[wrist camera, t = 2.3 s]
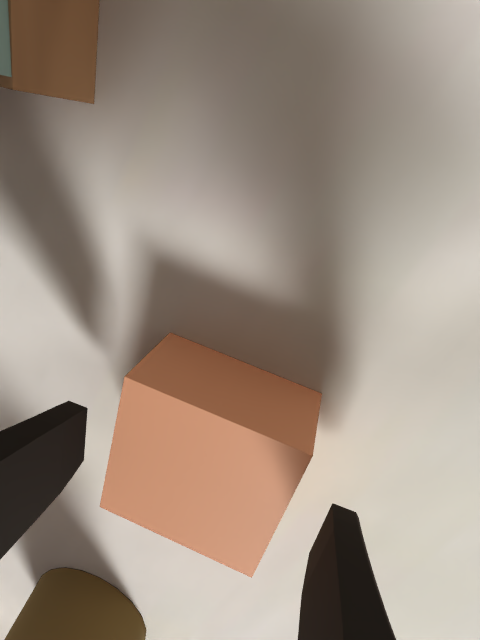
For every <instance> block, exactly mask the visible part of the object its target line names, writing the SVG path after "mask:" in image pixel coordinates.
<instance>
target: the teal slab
mask: <svg viewBox="0 0 480 640" xmlns="http://www.w3.org/2000/svg"><path fill="white" fill-rule="evenodd" d="M0 75H4V76H8V77H12V74H11V53H10V33H9V12H8V0H0Z"/></svg>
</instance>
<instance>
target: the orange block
mask: <svg viewBox="0 0 480 640" xmlns="http://www.w3.org/2000/svg"><path fill="white" fill-rule="evenodd" d="M321 395H322V394H321V393H319V392H316V391H314V390H311V389H309V388H307V387H304V386H302V385H299V384H297V383H294V382H292V381H289V380H287V379H284V378H282V377H279V376H277V375H274V374H272V373H269V372H267V371H264V370H262V369H259V368H257V367H254V366H252V365H249V364H247V363H245V362H242V361H240V360H237V359H235V358H232V357H230V356H227V355H225V354H222V353H220V352H217V351H215V350H212V349H210V348H207V347H205V346H202V345H200V344H197V343H195V342H192V341H190V340H187V339H185V338H182V337H180V336H178V335H175V334H173V333H169V334H168V335H167V336H166V337H165V338H164V339H163V340H162V341H161V342H160V343H159V344H158V345H157V346H156V347H155V348H154V349H153V350H151V351H150V352H149V353H148V354H147V355H146V356H145V357H144V358H143V359H142V360H141V361H140V362H139V363H138V364H137V365H136V366H135V367H134V368H133V369H132V370H131V371H130V372H129V373H128V374H127V375H126V376H125V377H124V382H123V387H122V393H121V398H120V403H119V408H118V414H117V419H116V424H115V429H114V435H113V440H112V445H111V450H110V455H109V461H108V466H107V471H106V476H105V482H104V487H103V492H102V497H101V503H100V507H101V508H104V509H106V510H108V511H110V512H112V513H114V514H116V515H119V516H121V517H123V518H125V519H127V520H129V521H131V522H134V523H136V524H138V525H140V526H142V527H144V528H146V529H149V530H151V531H153V532H155V533H157V534H159V535H161V536H164V537H166V538H168V539H170V540H172V541H174V542H176V543H179V544H181V545H183V546H185V547H187V548H189V549H191V550H194V551H196V552H198V553H200V554H202V555H204V556H206V557H209V558H211V559H213V560H215V561H217V562H219V563H221V564H224V565H226V566H228V567H230V568H232V569H234V570H237V571H239V572H241V573H243V574H245V575H247V576H249V577H252V576H253V574H254V572H255V570H256V568H257V566H258V564H259V562H260V560H261V558H262V556H263V554H264V552H265V550H266V548H267V546H268V544H269V542H270V540H271V538H272V536H273V534H274V532H275V530H276V528H277V526H278V524H279V522H280V520H281V518H282V516H283V514H284V512H285V510H286V508H287V506H288V504H289V502H290V500H291V498H292V496H293V494H294V492H295V490H296V488H297V486H298V484H299V482H300V480H301V478H302V476H303V474H304V472H305V470H306V468H307V466H308V464H309V462H310V460H311V458H312V456H313V450H314V443H315V436H316V429H317V423H318V416H319V409H320V402H321Z"/></svg>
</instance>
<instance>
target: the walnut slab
mask: <svg viewBox="0 0 480 640" xmlns="http://www.w3.org/2000/svg"><path fill="white" fill-rule="evenodd" d="M8 12H9V33H10V53H11V74H12V77H8V76H4V75H0V87H4V88H8V89H12V90H18V91H23V92H29V93H35V94H40V95H46V96H52V97H58V98H63V99H69V100H75V101H81V102H86V103H92V104H94V94H95V75H96V56H97V38H98V19H99V0H8Z"/></svg>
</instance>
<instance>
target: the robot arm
mask: <svg viewBox="0 0 480 640" xmlns="http://www.w3.org/2000/svg"><path fill="white" fill-rule="evenodd" d="M86 421H87V408H86V407H83V406H81V405H78V404H76V403H73V402H71V401H67V402H65V403H63V404H60V405H58V406H56V407H54V408H52V409H49V410H47V411H45V412H43V413H41V414H38V415H36V416H34V417H32V418H30V419H27V420H25V421H23V422H21V423H18V424H16V425H14V426H12V427H9V428H7V429H5V430H2V431H0V559H1V558H2V557H3V556H4V555H5V554H6V553H7V552H8V550H9V549H10V548H11V547H12V546H13V545H14V544H15V543H16V542H17V540H18V539H19V538H20V537H21V536H22V535H23V534H24V533H25V532H26V531H27V529H28V528H29V527H30V526H31V525H32V524H33V523H34V522H35V521H36V520H37V518H38V517H39V516H40V515H41V514H42V513H43V512H44V511H45V510H46V508H47V507H48V506H49V505H50V504H51V503H52V502H53V501H54V500H55V498H56V497H57V496H58V495H59V494H60V493H61V491H62V490H63V489H64V487H65V486H66V485H67V483H68V482H69V481H70V479H71V478H72V476H73V475H74V474H75V472H76V471H77V469H78V468H79V466H80V465H81V463H82V462H83V461H84V449H85V435H86ZM298 640H396V638H395V636H394V633H393V630H392V628H391V625H390V622H389V619H388V616H387V614H386V611H385V608H384V605H383V602H382V599H381V596H380V593H379V589H378V586H377V583H376V580H375V577H374V574H373V571H372V567H371V564H370V560H369V557H368V553H367V550H366V546H365V542H364V538H363V535H362V531H361V527H360V522H359V518H358V516H357V514H356V512H354V511H351V510H348V509H346V508H343V507H341V506H338V505H336V504H332V506H331V508H330V510H329V512H328V514H327V516H326V519H325V521H324V523H323V525H322V527H321V529H320V531H319V534H318V536H317V538H316V540H315V542H314V544H313V546H312V549H311V551H310V553H309V558H308V563H307V568H306V573H305V579H304V585H303V590H302V597H301V608H300V620H299V632H298Z"/></svg>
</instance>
